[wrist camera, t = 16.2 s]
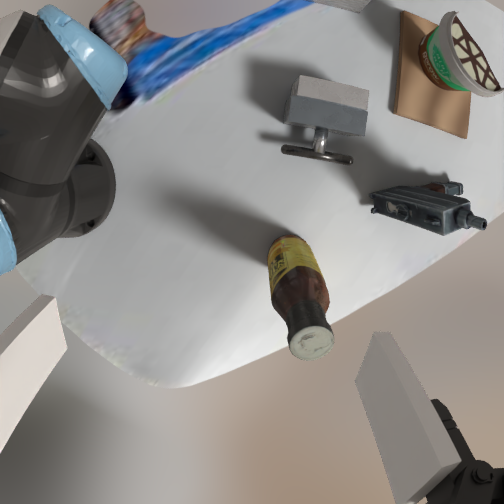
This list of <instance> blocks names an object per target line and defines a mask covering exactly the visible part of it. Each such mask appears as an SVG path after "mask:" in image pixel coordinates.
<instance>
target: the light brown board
mask: <svg viewBox="0 0 504 504" xmlns="http://www.w3.org/2000/svg"><path fill="white" fill-rule="evenodd" d="M438 26H439V25H437V24H434V23H432V22H430V21H428V20H426V19H423V18H421V17H419V16H416V15H414V14H412V13H409V12H407V11H402V12H401V14H400V44H399V61H398V74H397V85H396V95H395V104H394V112H393V114H396V115H399V116H402V117H405V118H408V119H411V120H414V121H417V122H420V123H423V124H426V125H429V126H432V127H434V128H437V129H440V130H443V131H445V132H448V133H450V134H453V135H455V136H458V137H460V138H464V139H467V133H468V125H469V115H470V103H471V91H447V90H443V89H441V88H439V87H437V86H436V85H435V84H433V83H432V82H431V81H430V80H429V79H428V77H427V76H426V75H425V73H424V71H423V70H422V67H421V65H420V62H419V57H418V48H419V44H420V42H421V40H422V38H423V37H425V36H426V35H427V34H428V33H430V32H431V31H432V30H434V29H435V28H436V27H438Z"/></svg>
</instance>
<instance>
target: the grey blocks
mask: <svg viewBox="0 0 504 504" xmlns="http://www.w3.org/2000/svg"><path fill="white" fill-rule="evenodd" d="M305 1H310V2H315V3H320V4H325V5H329V6H333V7H337V8H341V9H345V10H349V11H353V12H356V13H360V12H361V11H362V10H363V8H364V7H365V6H366V5H367V4H368V3H369V2H370V1H371V0H305ZM368 97H369V90H365V89H362V88H358V87H354V86H350V85H346V84H342V83H337V82H333V81H328V80H324V79H319V78H314V77H309V76H303V75H300V76H299V77H298V78H297V80H296V81H295V82H294V84H293V85H292V90H291V97H290V98H289V99H288V100H287V101H286V106H285V113H284V120H283V124H289V125H295V126H301V127H307V128H312V129H315V134H314V141H313V147H312V149H310V148H305V147H299V146H292V145H283V146H282V147H281V152H282V153H283V154H287V155H293V156H300V157H306V158H312V159H317V160H323V161H329V162H334V163H339V164H344V165H351V164H353V158H352V157H351V156H347V155H342V154H337V153H332V152H327V151H325V149H326V143H327V136H328V132H333V133H338V134H342V135H347V136H365V129H366V122H367V114H368V112H367V111H365V110H367V105H368Z"/></svg>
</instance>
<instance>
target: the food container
mask: <svg viewBox="0 0 504 504" xmlns="http://www.w3.org/2000/svg"><path fill="white" fill-rule="evenodd" d="M458 13H459V12H455V11H452V12H448V13H446V14H445V15H444V16H443V18H442V19H441V22H440V25H439V26H438V27H436V28H435V29H434V30H432V31H431V32H430V33H428V34H427V35H426V36H425V37H423V38H422V40H421V42H420V44H419V48H418V57H419V62H420V65H421V67H422V70H423V71H424V73H425V75H426V76H427V77H428V79H429V80H430V81H431V82H432V83H433V84H435V85H436V86H437V87H439V88H441V89H443V90H447V91H471V92H473V93H474V94H476V95H479V96H482V97H492V96H495V95H497V94H500V93H502V92H503V91H504V88H501V87H500V85H499V83H498V81H497V80H496V78H495V76H494V74H493V72H492V70H491V69H490V66H489V64H488V62H487V60H486V58H485V56H484V54H483V52H482V50H481V49H480V47H479V46H478V45H477V43H476V42H475V41H474V40H473V38H472V37H471V36H470V34H469V33H468V32H467V30H466V29H465V27H464V26H463V25H462V23H461V22H460V20H459V19H458V17H457V16H456V14H458Z"/></svg>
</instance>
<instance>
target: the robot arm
mask: <svg viewBox="0 0 504 504" xmlns="http://www.w3.org/2000/svg"><path fill="white" fill-rule="evenodd" d="M37 14H38V15H37V16H34V15H32V14H29V13H27V12H24V11H23V10H19V11H17V12H14V13H12V14H10V15H7V16H5V17H3V18H0V275H2V274H4V273H6V272H9V271H11V270H12V269H14V267H15V266H16V265H17V264H19V263H20V262H21V261H23V260H24V259H26V258H27V257H29V256H30V255H32V254H33V253H35V252H36V251H38V250H39V249H41V248H42V247H44V246H45V245H47V244H48V243H50V242H52V241H53V240H55V239H56V238H72V237H79V236H82V235H85V234H87V233H89V232H90V231H92V230H94V229H95V228H97V227H98V226H99V225H100V224H101V223H102V222H103V221H104V220H105V219H106V217H107V216H108V214H109V212H110V210H111V208H112V205H113V202H114V198H115V191H116V181H115V174H114V169H113V166H112V163H111V161H110V159H109V157H108V155H107V154H106V152H105V151H104V150H103V148H102V147H101V146H100V145H99V144H98V143H96V142H95V141H93V140H92V139H90V138H91V136H92V134H93V132H94V131H95V129H96V127H97V126H98V124H99V122H100V121H101V119H102V118H103V116H104V114H105V113H106V111H107V110H108V111H109V110H110V108H111V103H112V101H113V99H114V98H115V96H116V94H117V93H118V91H119V89H120V88H121V86H122V85H123V83H124V81H125V80H126V77H127V74H128V68H127V64H126V62H125V60H124V59H123V58H122V57H121V56H120V55H119V54H118V53H117V52H116V51H115V50H114V49H112V48H111V47H110V46H109V45H108V44H106V43H105V42H104V41H103V40H101V39H100V38H99V37H98V36H96V35H95V34H94V33H92V32H91V31H90V30H88V29H87V28H86V27H84V26H83V25H81V24H80V23H79V22H77V21H76V20H74V19H72V18H71V17H70V16H68V15H67V14H65V13H64V12H63V11H61V10H60V9H58V8H57V7H55V6H53V5H46V6H44V7H43V8H42V9H40V10H39V11H38V12H37ZM66 350H67V345H66V341H65V338H64V334H63V330H62V325H61V321H60V317H59V312H58V307H57V303H56V298H55V297H53V296H48V295H44V294H42V295H41V296H40V297H38V298H37V299H36V300H35V301H34V302H33V303H32V304H31V305H30V306H29V307H28V308H27V309H26V310H25V311H24V312H23V313H22V314H21V315H20V316H19V317H18V318H17V319H16V320H15V321H14V322H13V323H12V324H11V325H10V326H9V327H8V328H7V329H6V330H5V331H4V332H3V333H2V334H1V335H0V453H1V451H2V449H3V447H4V446H5V444H6V442H7V440H8V439H9V437H10V435H11V433H12V432H13V430H14V429H15V427H16V425H17V424H18V422H19V420H20V419H21V417H22V415H23V414H24V412H25V411H26V409H27V407H28V406H29V404H30V403H31V401H32V400H33V398H34V397H35V395H36V393H37V392H38V390H39V389H40V387H41V386H42V384H43V383H44V381H45V380H46V378H47V377H48V376H49V374H50V373H51V371H52V370H53V368H54V367H55V365H56V364H57V362H58V361H59V360H60V358H61V357H62V355H63V354H64V353H65V351H66ZM355 383H356V386H357V388H358V391H359V394H360V397H361V400H362V402H363V405H364V408H365V411H366V414H367V416H368V419H369V422H370V425H371V428H372V431H373V434H374V437H375V440H376V443H377V446H378V449H379V452H380V455H381V458H382V461H383V464H384V467H385V470H386V473H387V476H388V480H389V483H390V486H391V490H392V493H393V496H394V499H395V503H396V504H417V503H418V502H419V501H420V500H421V499H423V497H425V496H426V498H427V501H428V502H427V503H426V504H504V468H495V469H493V468H492V467H491V466H490V465H489V464H488V463H487V462H485V461H481V460H475V458H474V457H473V455H472V453H471V451H470V449H469V447H468V445H467V443H466V441H465V440H464V437H463V436H462V434H461V432H460V430H459V429H457V425H456V423H455V421H454V420H453V417H452V416H451V414H450V412H449V410H448V409H447V407H446V406H445V405H443V404H442V403H441V402H440V401H439V400H438V399H433V400H430V399H429V397H428V395H427V394H426V392H425V390H424V388H423V387H422V385H421V383H420V381H419V379H418V378H417V376H416V374H415V373H414V371H413V369H412V367H411V366H410V364H409V362H408V361H407V359H406V357H405V356H404V354H403V352H402V351H401V349H400V347H399V346H398V344H397V342H396V341H395V339H394V338H393V336H392V334H391V333H390V332H374V333H373V336H372V339H371V341H370V344H369V347H368V350H367V352H366V355H365V357H364V360H363V362H362V365H361V367H360V370H359V372H358V375H357V377H356V379H355Z"/></svg>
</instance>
